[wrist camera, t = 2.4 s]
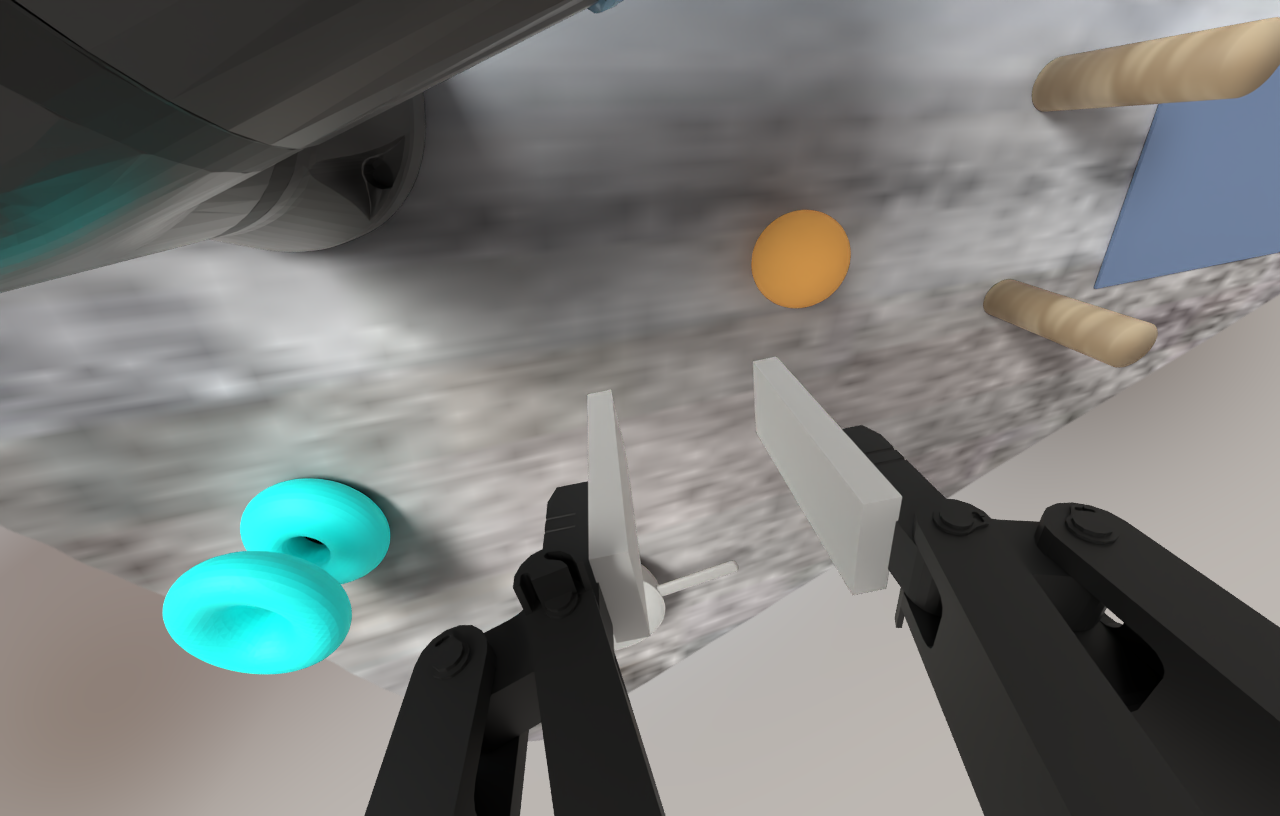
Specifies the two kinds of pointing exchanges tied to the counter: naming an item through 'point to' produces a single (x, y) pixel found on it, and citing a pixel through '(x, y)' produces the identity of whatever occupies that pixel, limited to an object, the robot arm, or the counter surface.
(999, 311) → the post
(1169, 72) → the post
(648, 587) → the saucepan
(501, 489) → the counter surface
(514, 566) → the counter surface
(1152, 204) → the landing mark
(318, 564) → the donuts
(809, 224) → the ball
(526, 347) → the counter surface
